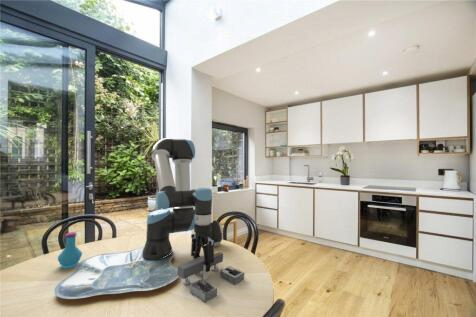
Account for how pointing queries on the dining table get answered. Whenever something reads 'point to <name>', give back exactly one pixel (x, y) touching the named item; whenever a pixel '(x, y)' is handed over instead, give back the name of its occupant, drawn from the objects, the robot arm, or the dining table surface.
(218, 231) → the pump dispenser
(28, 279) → the dining table surface
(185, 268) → the grey rectangular bar
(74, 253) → the perfume bottle
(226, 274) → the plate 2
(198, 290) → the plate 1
